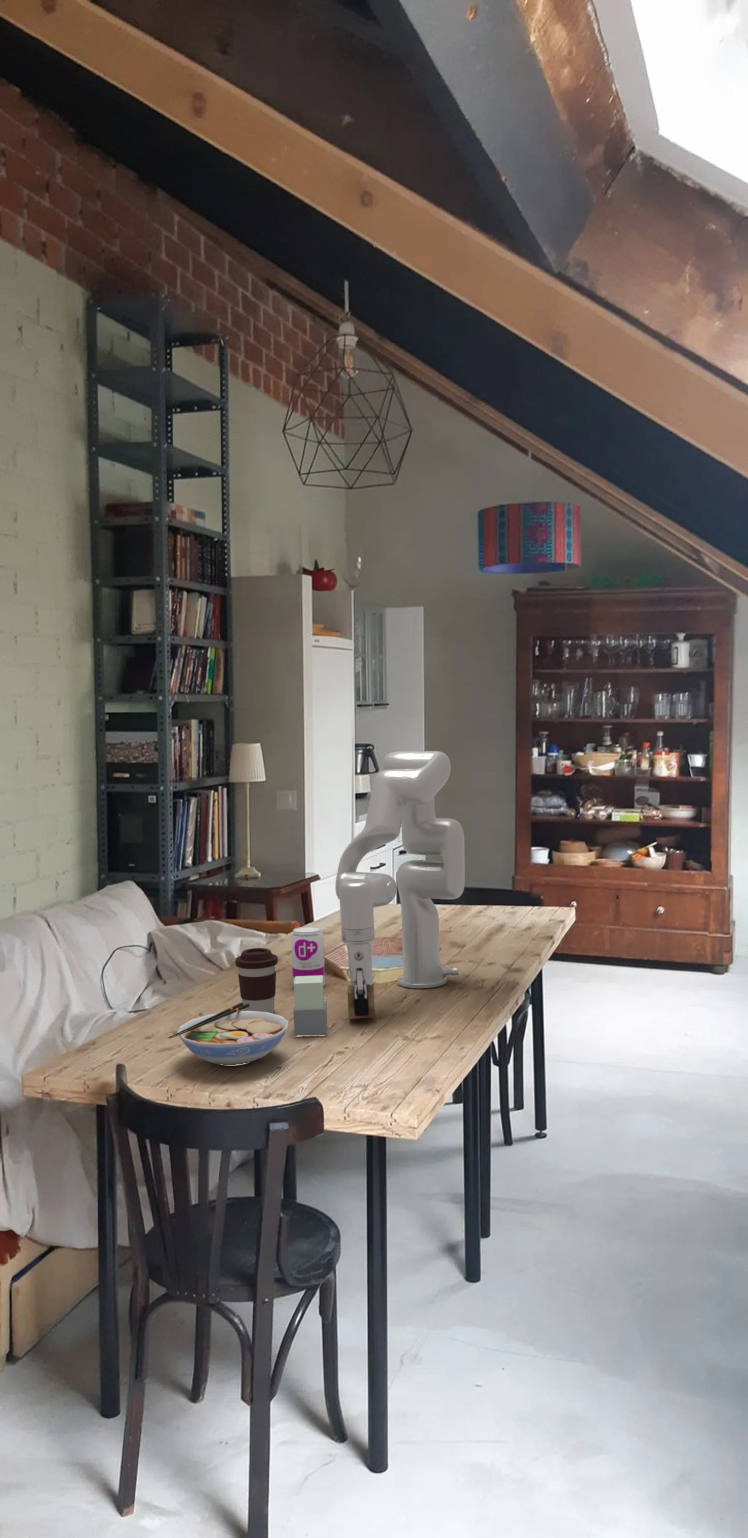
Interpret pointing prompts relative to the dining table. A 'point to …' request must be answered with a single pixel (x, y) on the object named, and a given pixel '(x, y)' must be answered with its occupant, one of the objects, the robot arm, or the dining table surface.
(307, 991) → the tower mid
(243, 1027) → the ramen bowl
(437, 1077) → the dining table surface
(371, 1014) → the walnut cube
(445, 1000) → the dining table surface
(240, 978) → the coffee cup
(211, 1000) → the dining table surface
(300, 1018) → the tower base
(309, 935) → the supplement can
